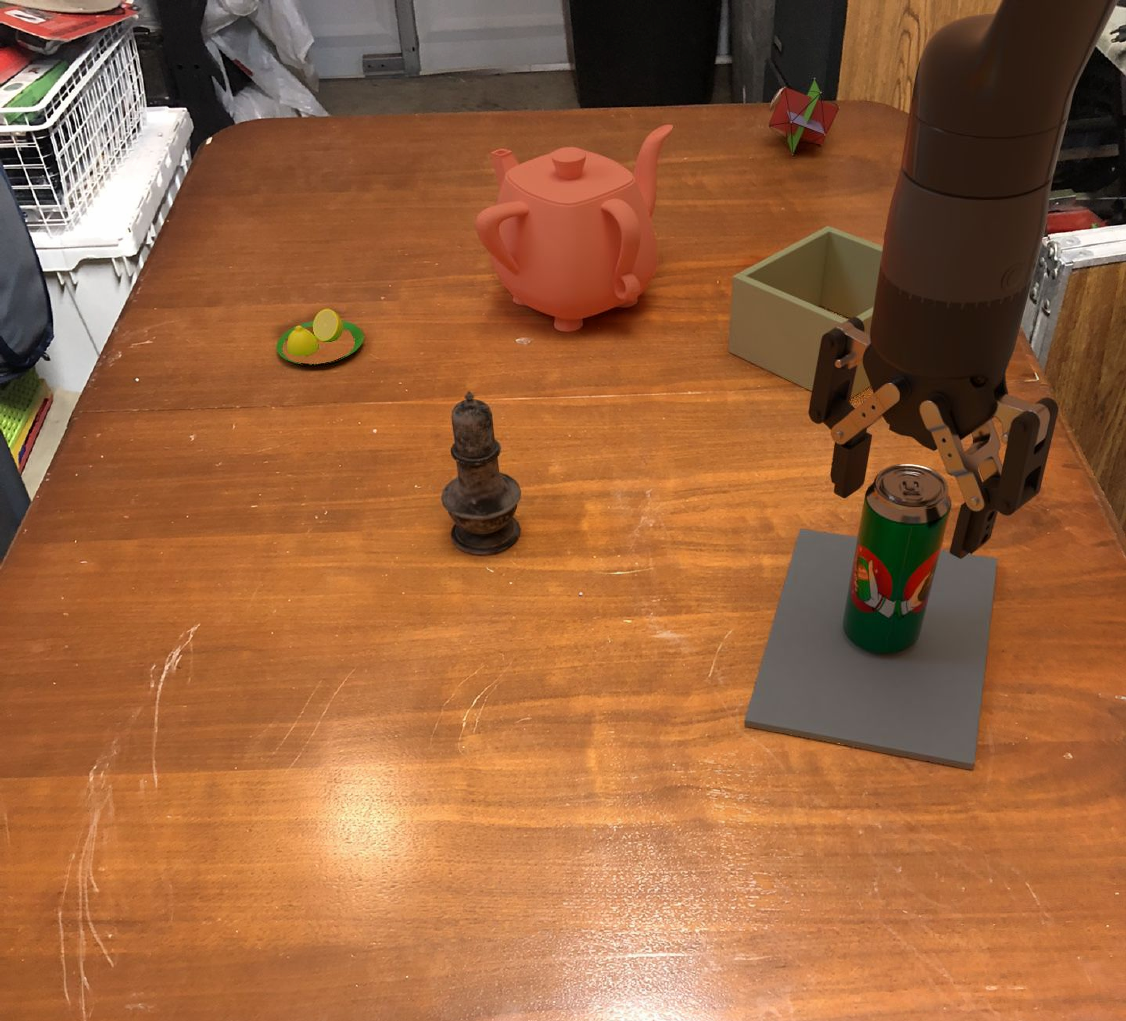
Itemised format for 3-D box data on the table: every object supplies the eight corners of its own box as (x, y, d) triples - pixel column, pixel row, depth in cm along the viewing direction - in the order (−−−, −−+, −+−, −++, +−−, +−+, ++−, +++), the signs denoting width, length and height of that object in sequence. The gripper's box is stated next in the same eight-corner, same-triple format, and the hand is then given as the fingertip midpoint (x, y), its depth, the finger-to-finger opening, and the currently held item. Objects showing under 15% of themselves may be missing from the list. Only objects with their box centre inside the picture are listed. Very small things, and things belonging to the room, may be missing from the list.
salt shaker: (482, 500, 91) (466, 359, 82) (540, 527, 89) (529, 385, 80) (430, 538, 88) (407, 397, 79) (488, 568, 86) (471, 425, 77)
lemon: (318, 317, 112) (312, 289, 110) (382, 339, 108) (377, 310, 106) (259, 356, 107) (252, 327, 105) (324, 379, 104) (318, 350, 102)
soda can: (914, 609, 80) (950, 460, 71) (922, 661, 76) (960, 511, 67) (839, 607, 80) (864, 458, 71) (843, 658, 77) (870, 509, 68)
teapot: (500, 258, 118) (488, 115, 108) (669, 257, 116) (673, 112, 106) (482, 342, 107) (466, 192, 97) (667, 342, 106) (671, 190, 96)
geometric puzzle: (844, 112, 133) (808, 52, 128) (855, 136, 128) (818, 74, 124) (790, 155, 136) (752, 98, 132) (799, 179, 132) (760, 121, 127)
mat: (799, 534, 87) (800, 528, 86) (995, 564, 83) (997, 558, 83) (743, 726, 74) (744, 720, 74) (972, 770, 71) (974, 764, 70)
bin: (818, 299, 109) (827, 225, 104) (931, 347, 103) (947, 270, 98) (727, 351, 104) (732, 275, 99) (840, 405, 98) (851, 327, 92)
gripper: (1127, 278, 57) (1042, 543, 69) (888, 195, 64) (849, 447, 77) (1040, 337, 54) (967, 603, 66) (799, 243, 61) (773, 498, 73)
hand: (904, 519), depth 71 cm, fingers open, 8 cm apart
